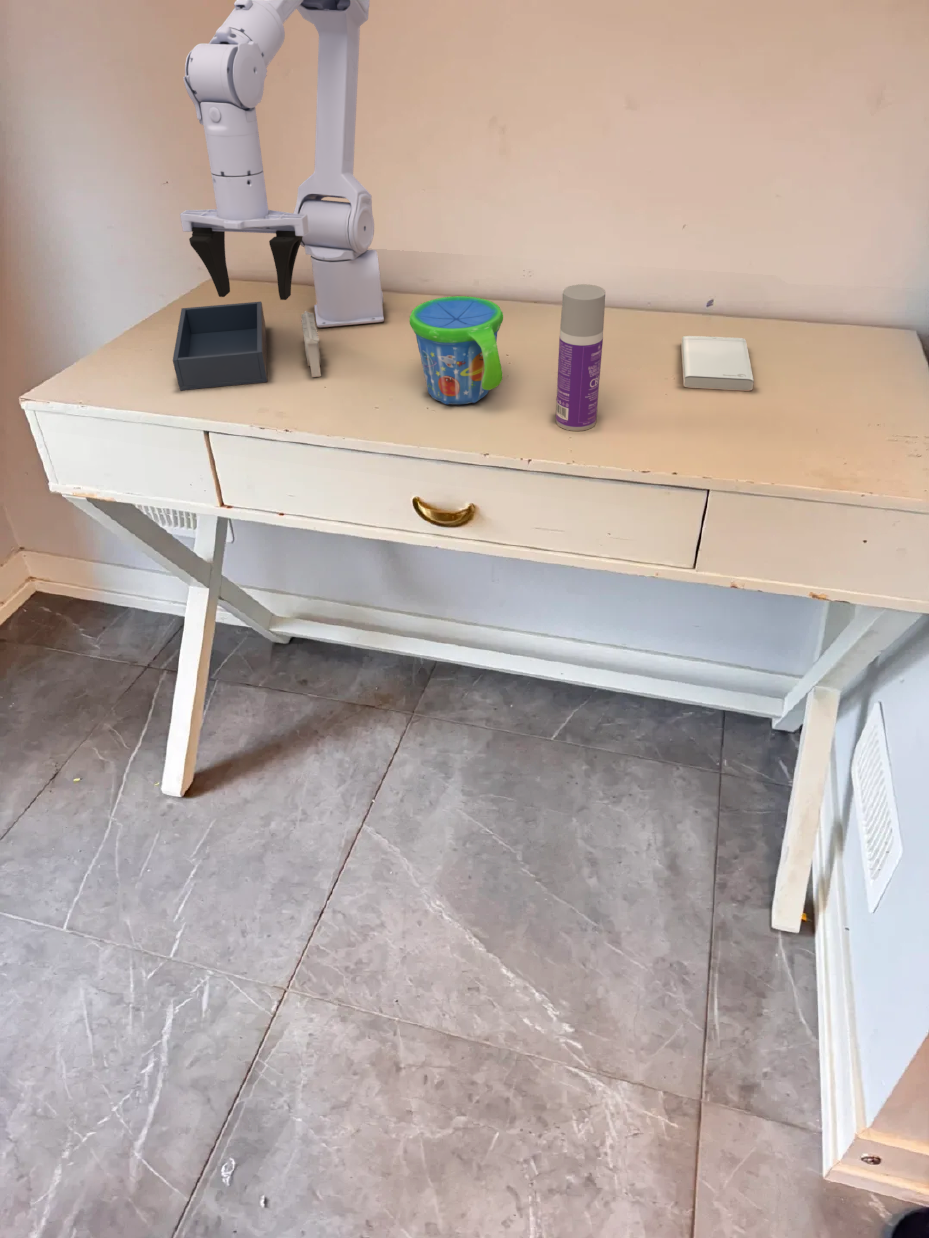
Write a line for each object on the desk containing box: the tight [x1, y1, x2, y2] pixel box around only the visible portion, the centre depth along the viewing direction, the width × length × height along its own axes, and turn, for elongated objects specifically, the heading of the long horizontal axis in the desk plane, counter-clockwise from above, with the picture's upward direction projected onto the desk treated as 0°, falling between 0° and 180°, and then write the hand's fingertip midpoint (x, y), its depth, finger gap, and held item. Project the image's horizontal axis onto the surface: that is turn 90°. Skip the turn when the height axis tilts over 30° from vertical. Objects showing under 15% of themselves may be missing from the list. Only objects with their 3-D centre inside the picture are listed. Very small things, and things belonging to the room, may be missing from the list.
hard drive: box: [680, 335, 755, 392], centre depth 113 cm, size 2×8×12 cm
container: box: [555, 283, 606, 432], centre depth 98 cm, size 5×5×15 cm
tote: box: [172, 300, 268, 391], centre depth 117 cm, size 11×17×4 cm, turn 10°
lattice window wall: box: [300, 310, 322, 378], centre depth 116 cm, size 12×2×6 cm, turn 12°
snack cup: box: [409, 295, 504, 405], centre depth 106 cm, size 16×10×10 cm
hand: (254, 296), depth 107 cm, fingers open, 7 cm apart
